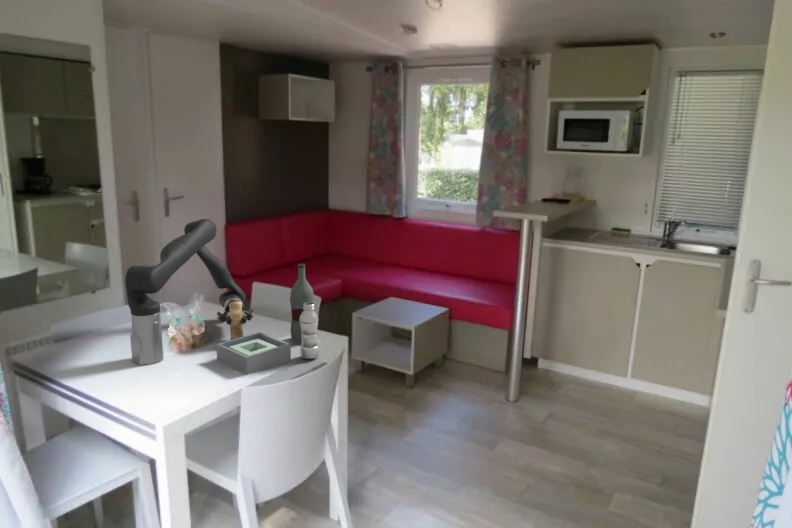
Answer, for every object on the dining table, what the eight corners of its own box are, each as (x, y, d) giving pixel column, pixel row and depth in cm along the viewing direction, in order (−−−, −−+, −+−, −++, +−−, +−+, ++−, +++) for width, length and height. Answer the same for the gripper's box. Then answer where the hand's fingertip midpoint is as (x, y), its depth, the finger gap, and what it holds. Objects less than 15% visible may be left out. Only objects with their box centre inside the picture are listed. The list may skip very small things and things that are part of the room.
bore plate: (249, 367, 190) (249, 355, 189) (229, 357, 197) (228, 346, 197) (278, 357, 199) (278, 346, 198) (258, 348, 206) (257, 338, 205)
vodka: (297, 335, 225) (295, 261, 218) (318, 337, 222) (317, 263, 216) (286, 342, 216) (284, 266, 210) (308, 345, 214) (307, 268, 207)
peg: (235, 347, 210) (233, 305, 207) (228, 344, 213) (226, 303, 210) (245, 344, 214) (244, 303, 210) (239, 341, 217) (237, 300, 213)
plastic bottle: (315, 362, 198) (315, 307, 194) (297, 360, 199) (296, 305, 195) (321, 355, 204) (321, 302, 200) (303, 353, 205) (303, 300, 201)
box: (247, 374, 186) (246, 357, 185) (217, 360, 197) (216, 344, 196) (290, 360, 199) (290, 344, 198) (260, 347, 211) (259, 332, 209)
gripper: (215, 301, 222) (216, 313, 206) (252, 298, 226) (256, 310, 210) (215, 319, 223) (216, 333, 207) (253, 316, 228) (256, 330, 212)
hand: (236, 321), depth 209 cm, fingers closed on peg, 4 cm apart
